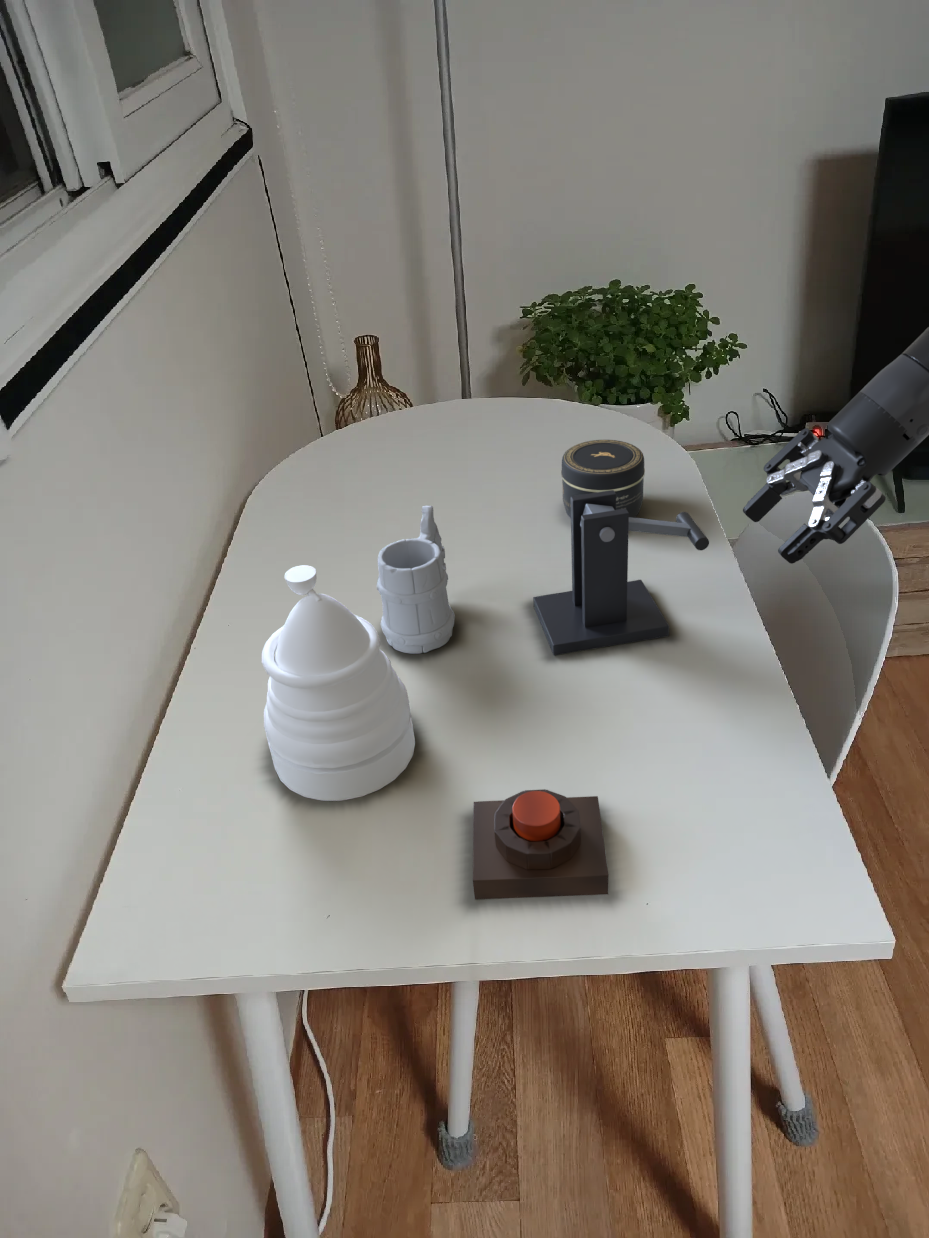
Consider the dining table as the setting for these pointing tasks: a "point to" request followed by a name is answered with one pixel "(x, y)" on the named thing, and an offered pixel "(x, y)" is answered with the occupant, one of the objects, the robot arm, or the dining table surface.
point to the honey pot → (333, 700)
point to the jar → (604, 473)
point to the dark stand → (599, 586)
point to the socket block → (539, 852)
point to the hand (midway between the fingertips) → (765, 537)
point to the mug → (415, 590)
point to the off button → (536, 816)
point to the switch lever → (661, 526)
